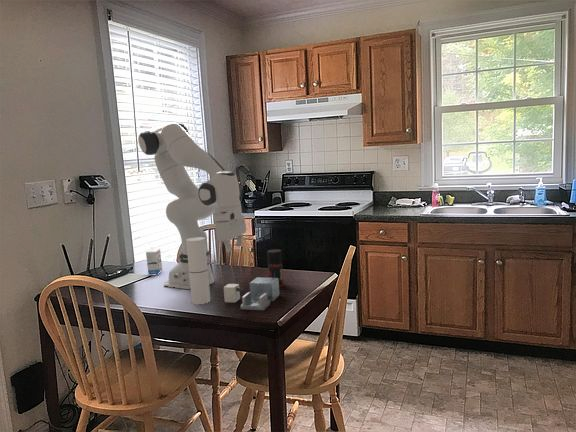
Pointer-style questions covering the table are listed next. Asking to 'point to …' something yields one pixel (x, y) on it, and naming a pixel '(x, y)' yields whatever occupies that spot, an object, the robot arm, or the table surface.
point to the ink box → (154, 261)
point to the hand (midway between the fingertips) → (234, 248)
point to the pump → (232, 292)
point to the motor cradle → (260, 293)
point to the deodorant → (275, 265)
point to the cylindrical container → (198, 270)
